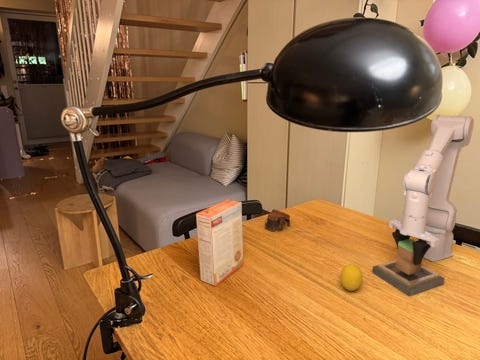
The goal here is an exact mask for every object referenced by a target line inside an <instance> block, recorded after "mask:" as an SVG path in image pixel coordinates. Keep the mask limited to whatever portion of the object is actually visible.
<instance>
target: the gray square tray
mask: <svg viewBox="0 0 480 360" xmlns="http://www.w3.org/2000/svg"><path fill="white" fill-rule="evenodd" d="M371 272H372V274H374V275H375V276H377V277H378V278H380V280H382V281H384V282H385V283H387V284H389V285H391V286H392V287H393V288H395V289H397V290H398V291H400V292H401V293H403V294H405V296H407V297H413V296H415V295H418V294H420V293H423V292H427V291H430V290H432V289H435V288H439V287H441V286H444V283H445V277H444V276H441V275H440V274H438V273H437V272H435V271H433V270H431V269H429V268H427V267H425V266H424V265H422V264H421V271H420V272H417V273H413V274H410V275H408V274H406V273H404V272H403V271H401V270H399V269H398V268H396V259H394V260H391V261H388V262H384V263H381V264H377V265H373V266H372V270H371Z"/></svg>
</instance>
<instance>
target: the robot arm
mask: <svg viewBox="0 0 480 360" xmlns="http://www.w3.org/2000/svg"><path fill="white" fill-rule="evenodd" d="M474 120H475V119H474V118H473V116H471V115H470V116H462V115H461V116H459V115H458V116H457V115H443V114H442V115H440V114H436V115H434V117H433V119H432V121H431V125H430V132H431V137H432V139H431V142H430V145H429V147H428V149H425V150H423V151H422V152H421V153H420V155H419V157H418V158H417V160H416V163H415V164H414V166H413V168H412V169H411V170H407V171H406V173H405V175H404V177H403V182H402V187H403V197H404V203H403V204H404V205H403V212H402V213H403V215H402V221H399V220H397V219H391V220H389V223H388V224H389V225H388V227H389V228H391V229H395V231H393V232H392V233H391V235H392V237H393V239H394V243H395V244H396V248H397V249H396V250H397V251H398V242H399V241H403V240H407V239H411V237H413V238H415V239H417V240H414V242H412V245H413V250H414V256H413V264H414V265H418V264H421V261H422V262H423V259H426V260H428V261H430V262H433V263H434V262H437V261H441V260H444V259H447V258H451V257H453V256H454V254H453V253H452V250H453V249H452V248H453V243H454V233H453V230H454V228H455V225H456V222H457V221H456V220H457V212H458V209H457V207H456V205H454V204H453V203H452V202H451V201H450V200H449V199H450V196H451V191H452V186H453V182H454V178H455V177H454V176H455V173H456V169H457V164H458V159H459V156H460V153H461V151H462V148H464V147H467V146H469V144H470V142H471V139H472V134H473V130H474V124H475V123H474V122H475V121H474ZM421 265H422V264H421Z"/></svg>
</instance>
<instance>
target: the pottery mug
mask: <svg viewBox="0 0 480 360" xmlns="http://www.w3.org/2000/svg"><path fill="white" fill-rule="evenodd" d="M290 217H291V215H290V214H287V213H286V212H284V211H281V210H278V209H272V210H271V212H269V213H268V215H267V218H266V222H264V229H266V230H268V231H270V232H273V233H275V232H276V230H277V231H278V232H279V231H282V230H283V229H284V226H285V225H286V224H287V225H286V226H287V227H290V225H291V220H290Z"/></svg>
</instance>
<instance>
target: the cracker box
mask: <svg viewBox="0 0 480 360" xmlns="http://www.w3.org/2000/svg"><path fill="white" fill-rule="evenodd" d="M242 210H243V206H242V202H241V201H237V200H233V199H227V198H226V199H224V200H223V201H220V202H218V203H216V204H214V205H211V206H209V207H208V208H205V209H203V210H201V211H198V212H197V213H196V214H195V217H196V218H195V219H196V234H197V245H198V246H197V247H198V249H197V250H198V261H199V262H198V263H199V277H200V281H201V282H204V283H206V284H208V285H211V286H212V287H217V286H218V285H220V284H221V282H224V280H226V279H228V277H230V276H231V275H233V273H235V272H236V271H237V270H239V269H240V268H242V267H243V266H244V247H243V246H244V245H243V244H244V243H243V241H244V240H243V215H242V214H243V213H242Z"/></svg>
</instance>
